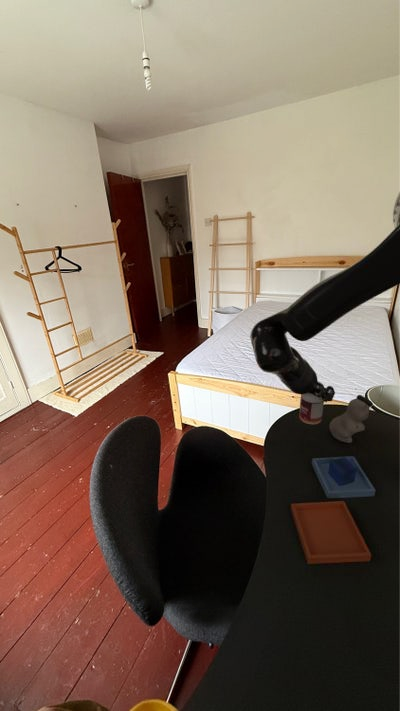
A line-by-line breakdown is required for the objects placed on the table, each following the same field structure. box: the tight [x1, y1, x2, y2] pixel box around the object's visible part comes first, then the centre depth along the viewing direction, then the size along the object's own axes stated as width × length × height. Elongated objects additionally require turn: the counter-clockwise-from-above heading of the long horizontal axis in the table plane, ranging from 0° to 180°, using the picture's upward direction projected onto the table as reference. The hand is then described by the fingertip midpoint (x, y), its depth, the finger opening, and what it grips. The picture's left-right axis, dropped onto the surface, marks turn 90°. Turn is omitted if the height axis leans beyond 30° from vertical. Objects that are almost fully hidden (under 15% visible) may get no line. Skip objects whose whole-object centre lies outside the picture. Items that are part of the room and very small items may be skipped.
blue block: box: [328, 456, 357, 486], centre depth 76 cm, size 4×4×4 cm
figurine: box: [328, 394, 374, 444], centre depth 87 cm, size 9×10×15 cm
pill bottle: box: [298, 381, 325, 425], centre depth 83 cm, size 6×6×11 cm
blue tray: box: [311, 455, 376, 500], centre depth 76 cm, size 11×11×2 cm
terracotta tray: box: [290, 500, 372, 565], centre depth 64 cm, size 12×12×2 cm
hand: (315, 394), depth 84 cm, fingers closed on pill bottle, 6 cm apart
